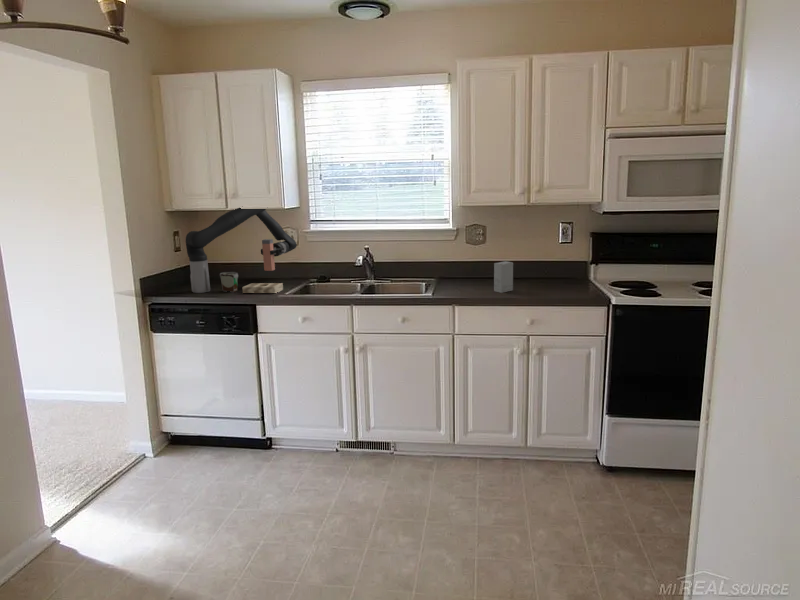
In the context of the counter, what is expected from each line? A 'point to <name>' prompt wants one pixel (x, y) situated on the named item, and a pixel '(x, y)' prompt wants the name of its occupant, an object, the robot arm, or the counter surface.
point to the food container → (229, 281)
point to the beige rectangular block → (263, 288)
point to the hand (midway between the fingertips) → (266, 252)
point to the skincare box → (503, 276)
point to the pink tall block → (268, 255)
